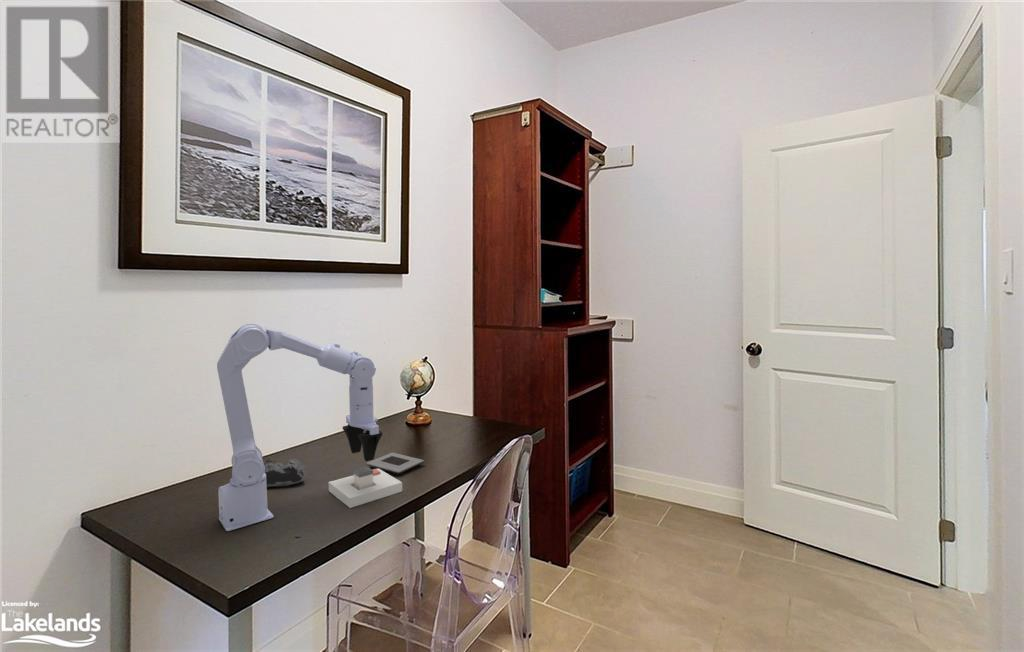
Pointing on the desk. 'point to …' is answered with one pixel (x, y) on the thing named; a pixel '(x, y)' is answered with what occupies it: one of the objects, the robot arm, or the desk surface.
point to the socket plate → (365, 489)
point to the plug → (363, 478)
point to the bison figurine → (284, 473)
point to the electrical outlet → (395, 463)
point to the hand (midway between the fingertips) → (362, 456)
